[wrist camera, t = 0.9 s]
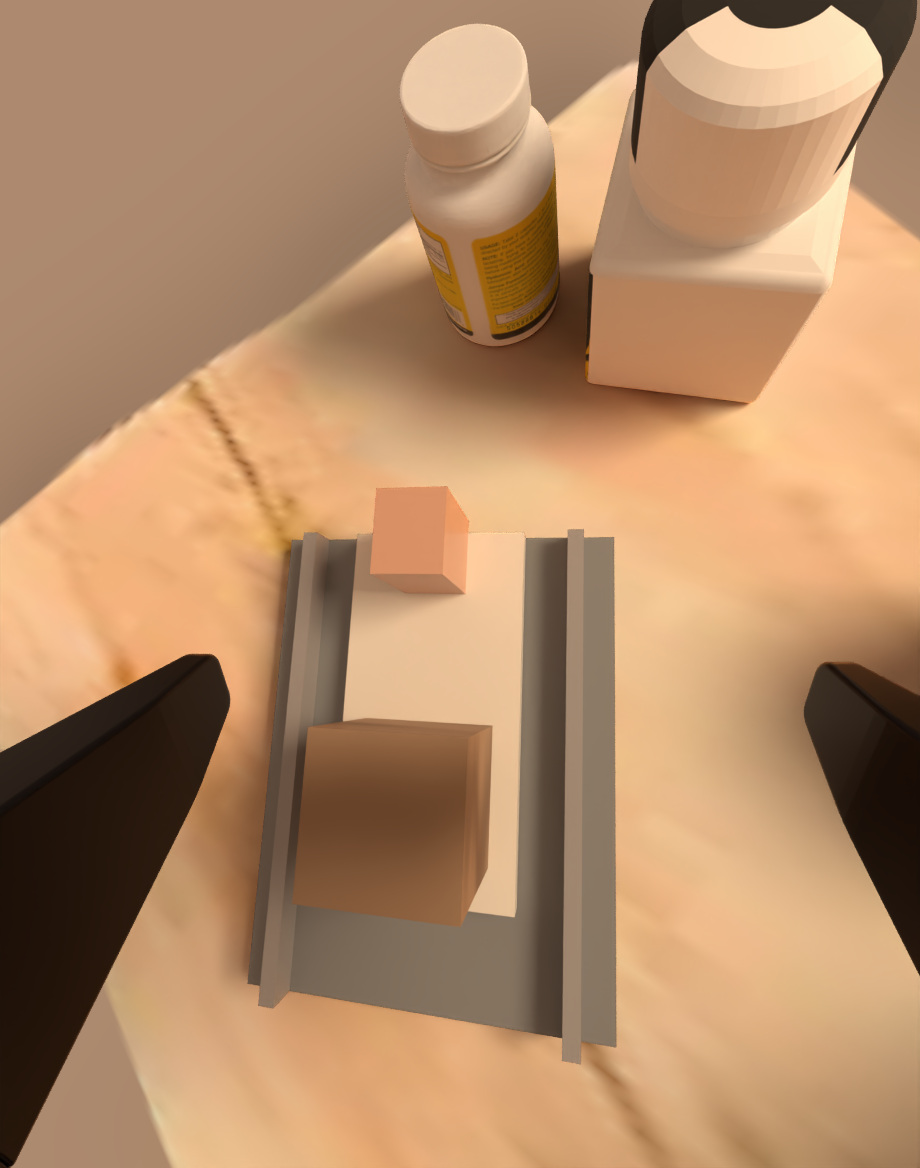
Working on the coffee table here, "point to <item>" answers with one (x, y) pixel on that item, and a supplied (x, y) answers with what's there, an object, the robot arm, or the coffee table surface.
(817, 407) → the coffee table surface
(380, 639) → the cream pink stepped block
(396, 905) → the walnut block
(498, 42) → the supplement bottle
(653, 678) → the coffee table surface
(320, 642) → the lane board
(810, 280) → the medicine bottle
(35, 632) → the coffee table surface
